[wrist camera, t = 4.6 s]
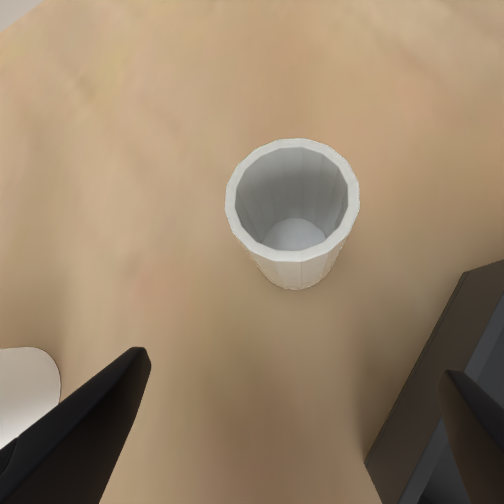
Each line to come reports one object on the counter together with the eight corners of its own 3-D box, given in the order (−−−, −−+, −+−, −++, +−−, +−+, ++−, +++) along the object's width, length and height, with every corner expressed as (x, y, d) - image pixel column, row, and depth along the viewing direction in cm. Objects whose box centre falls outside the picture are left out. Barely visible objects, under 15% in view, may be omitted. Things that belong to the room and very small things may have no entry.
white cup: (271, 301, 22) (248, 281, 12) (246, 231, 24) (209, 166, 14) (347, 273, 22) (384, 231, 12) (315, 204, 23) (326, 119, 14)
